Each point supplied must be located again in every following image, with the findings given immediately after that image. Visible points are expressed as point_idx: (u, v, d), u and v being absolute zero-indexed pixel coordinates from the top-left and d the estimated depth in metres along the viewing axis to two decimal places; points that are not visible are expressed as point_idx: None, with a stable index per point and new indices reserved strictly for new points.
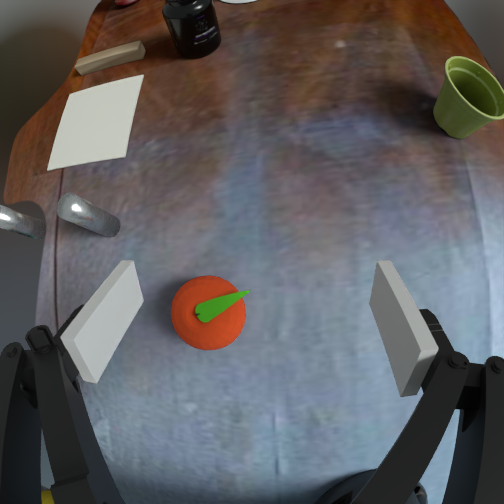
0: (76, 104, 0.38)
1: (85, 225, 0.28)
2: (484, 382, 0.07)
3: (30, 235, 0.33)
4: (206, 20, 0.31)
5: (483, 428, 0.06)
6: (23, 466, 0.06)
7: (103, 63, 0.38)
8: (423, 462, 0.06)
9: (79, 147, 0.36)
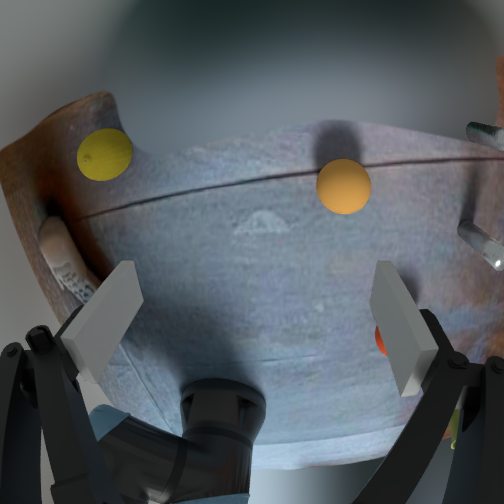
0: None
1: (480, 252, 0.28)
2: (484, 382, 0.07)
3: (476, 137, 0.26)
4: None
5: (483, 428, 0.06)
6: (23, 466, 0.06)
7: None
8: (423, 462, 0.06)
9: None
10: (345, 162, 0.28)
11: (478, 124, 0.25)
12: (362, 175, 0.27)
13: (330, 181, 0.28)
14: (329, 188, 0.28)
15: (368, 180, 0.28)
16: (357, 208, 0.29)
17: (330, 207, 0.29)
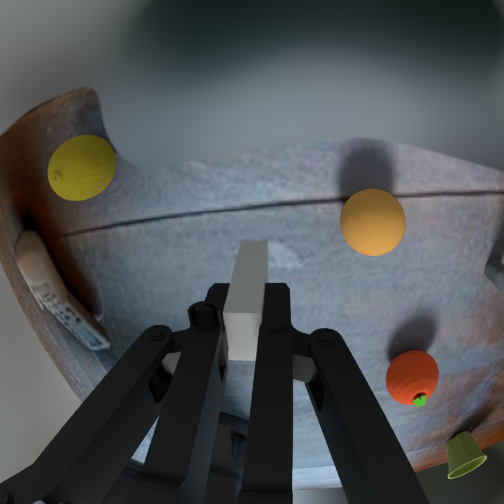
0: None
1: None
2: (316, 360, 0.10)
3: None
4: None
5: (336, 406, 0.08)
6: (106, 460, 0.07)
7: None
8: (286, 425, 0.07)
9: None
10: (379, 194, 0.22)
11: None
12: (398, 212, 0.22)
13: (360, 218, 0.22)
14: (358, 227, 0.22)
15: (404, 218, 0.22)
16: (388, 251, 0.23)
17: (356, 248, 0.24)
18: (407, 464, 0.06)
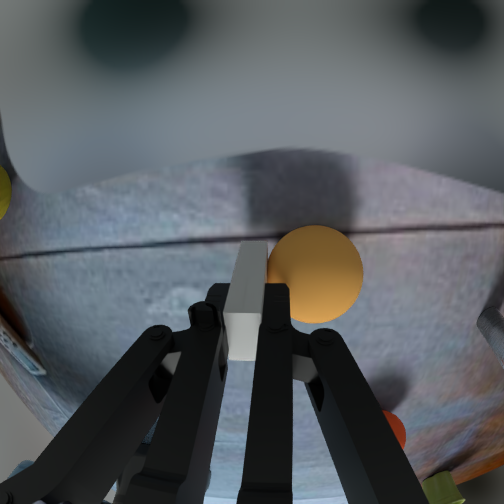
0: None
1: None
2: (315, 360, 0.10)
3: None
4: None
5: (336, 406, 0.08)
6: (107, 460, 0.07)
7: None
8: (286, 425, 0.07)
9: None
10: (321, 238, 0.15)
11: None
12: (349, 267, 0.15)
13: (286, 276, 0.15)
14: None
15: (359, 274, 0.16)
16: (332, 319, 0.16)
17: None
18: (406, 464, 0.06)
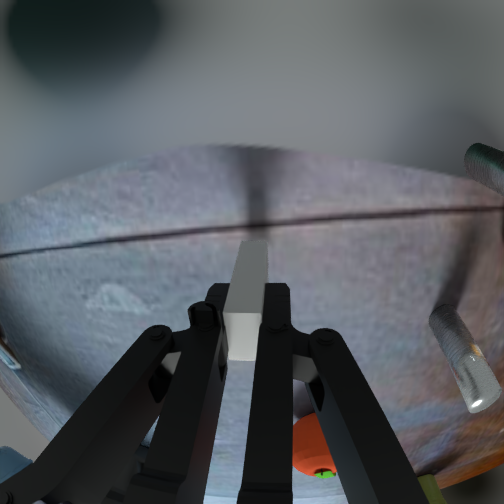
0: None
1: (454, 374, 0.16)
2: (316, 360, 0.10)
3: (483, 175, 0.14)
4: None
5: (336, 406, 0.08)
6: (106, 460, 0.07)
7: None
8: (286, 425, 0.07)
9: None
10: None
11: (489, 150, 0.13)
12: None
13: None
14: None
15: None
16: None
17: None
18: (407, 464, 0.06)
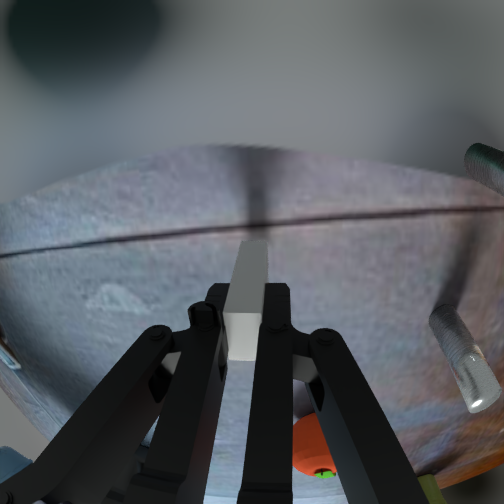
0: None
1: (454, 374, 0.16)
2: (316, 360, 0.10)
3: (483, 175, 0.14)
4: None
5: (336, 406, 0.08)
6: (106, 460, 0.07)
7: None
8: (286, 425, 0.07)
9: None
10: None
11: (489, 150, 0.13)
12: None
13: None
14: None
15: None
16: None
17: None
18: (407, 464, 0.06)
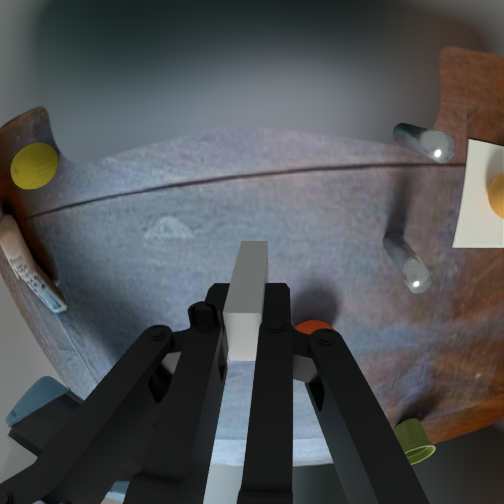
0: None
1: (398, 269, 0.29)
2: (316, 360, 0.10)
3: (401, 140, 0.27)
4: None
5: (336, 406, 0.08)
6: (107, 460, 0.07)
7: None
8: (286, 425, 0.07)
9: (480, 187, 0.29)
10: None
11: (405, 125, 0.26)
12: None
13: (492, 184, 0.27)
14: (490, 189, 0.28)
15: None
16: None
17: (490, 205, 0.29)
18: (406, 463, 0.06)
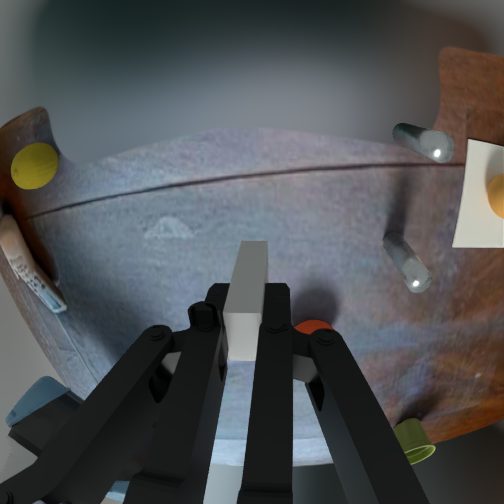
0: None
1: (398, 269, 0.29)
2: (316, 360, 0.10)
3: (400, 140, 0.27)
4: None
5: (336, 406, 0.08)
6: (106, 460, 0.07)
7: None
8: (286, 425, 0.07)
9: (479, 187, 0.29)
10: None
11: (404, 125, 0.26)
12: None
13: (491, 184, 0.27)
14: (489, 189, 0.28)
15: None
16: None
17: None
18: (406, 464, 0.06)
